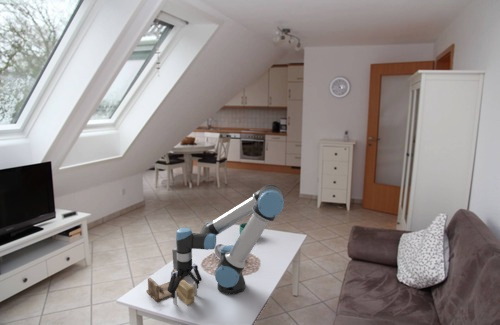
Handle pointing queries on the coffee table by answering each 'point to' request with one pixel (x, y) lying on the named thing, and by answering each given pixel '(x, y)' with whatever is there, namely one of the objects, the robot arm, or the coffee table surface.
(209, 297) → the coffee table surface
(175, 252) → the skincare box
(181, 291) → the light wooden block
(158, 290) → the peg frame
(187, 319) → the coffee table surface
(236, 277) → the robot arm
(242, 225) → the mug
